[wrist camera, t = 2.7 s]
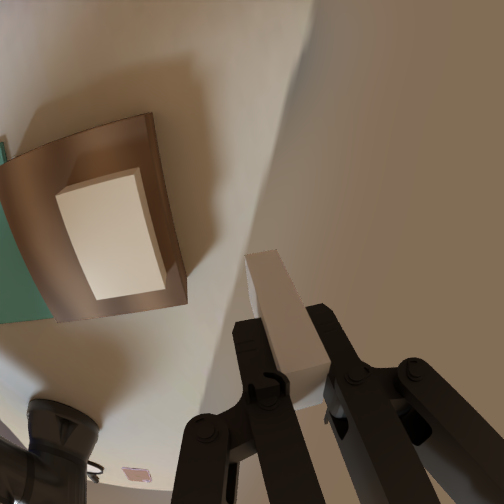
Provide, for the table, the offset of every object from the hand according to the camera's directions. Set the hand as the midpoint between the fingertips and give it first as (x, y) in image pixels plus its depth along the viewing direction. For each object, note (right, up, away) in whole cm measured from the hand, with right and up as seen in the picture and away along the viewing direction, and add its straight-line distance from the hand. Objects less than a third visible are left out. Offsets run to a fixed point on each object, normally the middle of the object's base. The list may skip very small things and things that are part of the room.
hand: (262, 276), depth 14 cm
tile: (-11, +3, +6) cm, 13 cm away
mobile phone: (-34, -63, +46) cm, 85 cm away
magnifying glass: (-50, -63, +43) cm, 91 cm away
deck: (-14, +4, +9) cm, 18 cm away
